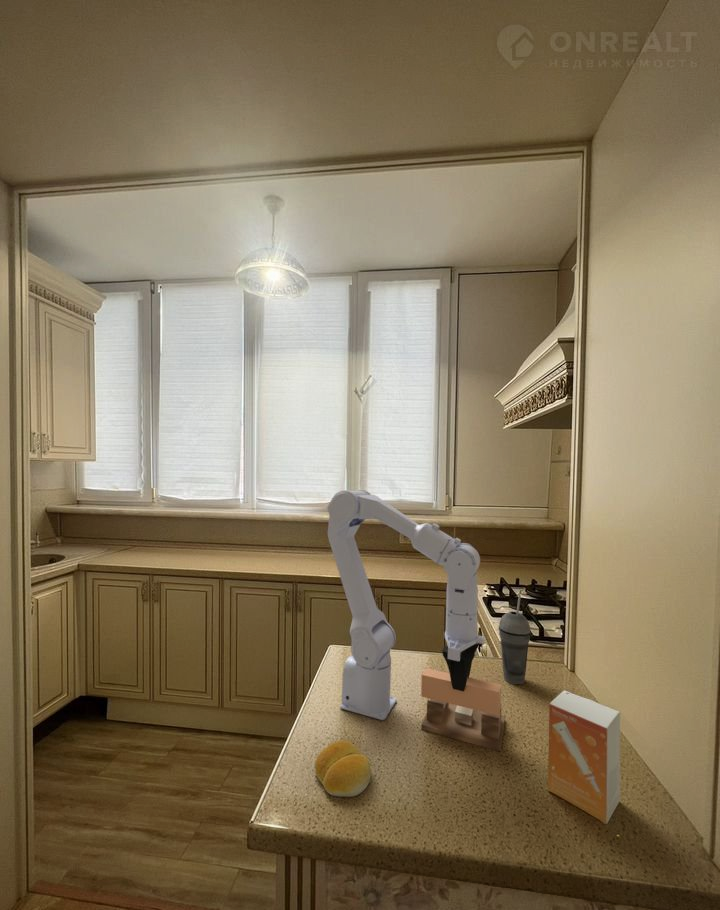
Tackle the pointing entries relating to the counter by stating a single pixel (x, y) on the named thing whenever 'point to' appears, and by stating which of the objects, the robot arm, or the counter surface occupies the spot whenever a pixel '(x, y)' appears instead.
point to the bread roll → (343, 769)
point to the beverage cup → (514, 645)
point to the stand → (464, 724)
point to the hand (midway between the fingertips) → (460, 684)
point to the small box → (584, 754)
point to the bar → (462, 692)
